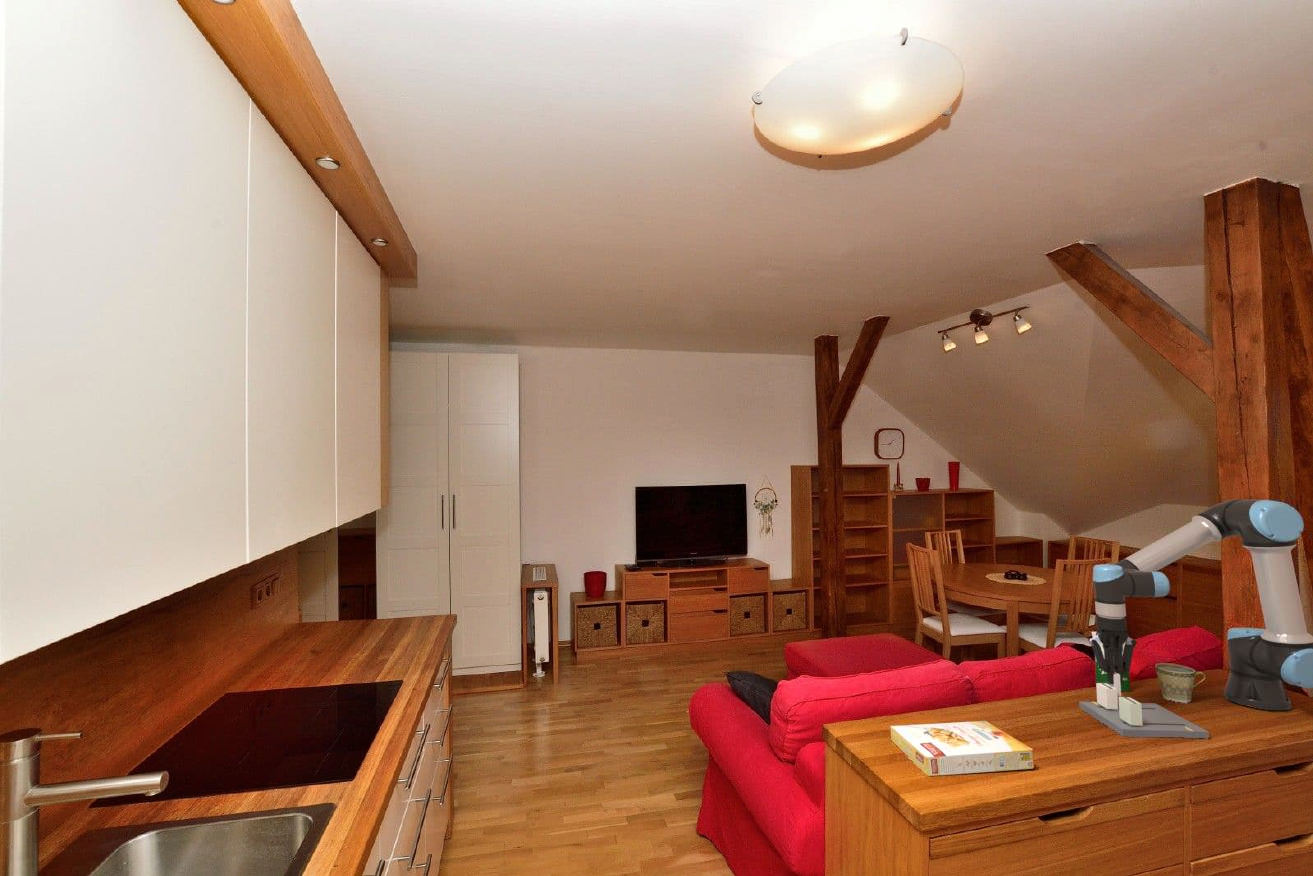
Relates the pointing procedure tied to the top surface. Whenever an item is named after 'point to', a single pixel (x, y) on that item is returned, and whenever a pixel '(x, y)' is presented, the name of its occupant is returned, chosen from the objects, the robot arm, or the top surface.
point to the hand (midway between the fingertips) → (1115, 694)
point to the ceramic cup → (1176, 681)
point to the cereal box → (961, 748)
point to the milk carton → (1102, 676)
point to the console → (1146, 722)
